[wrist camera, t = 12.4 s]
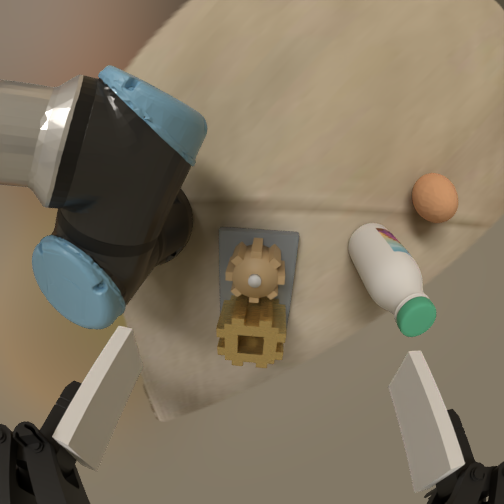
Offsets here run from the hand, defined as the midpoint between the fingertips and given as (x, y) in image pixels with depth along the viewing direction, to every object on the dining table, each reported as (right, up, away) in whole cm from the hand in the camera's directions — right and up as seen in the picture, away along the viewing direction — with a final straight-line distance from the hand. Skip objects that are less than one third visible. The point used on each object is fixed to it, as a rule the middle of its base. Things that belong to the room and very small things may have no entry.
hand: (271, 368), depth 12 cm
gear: (-1, -6, +36) cm, 37 cm away
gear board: (0, 0, +35) cm, 35 cm away
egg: (+27, +15, +26) cm, 40 cm away
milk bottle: (+18, +7, +31) cm, 36 cm away
